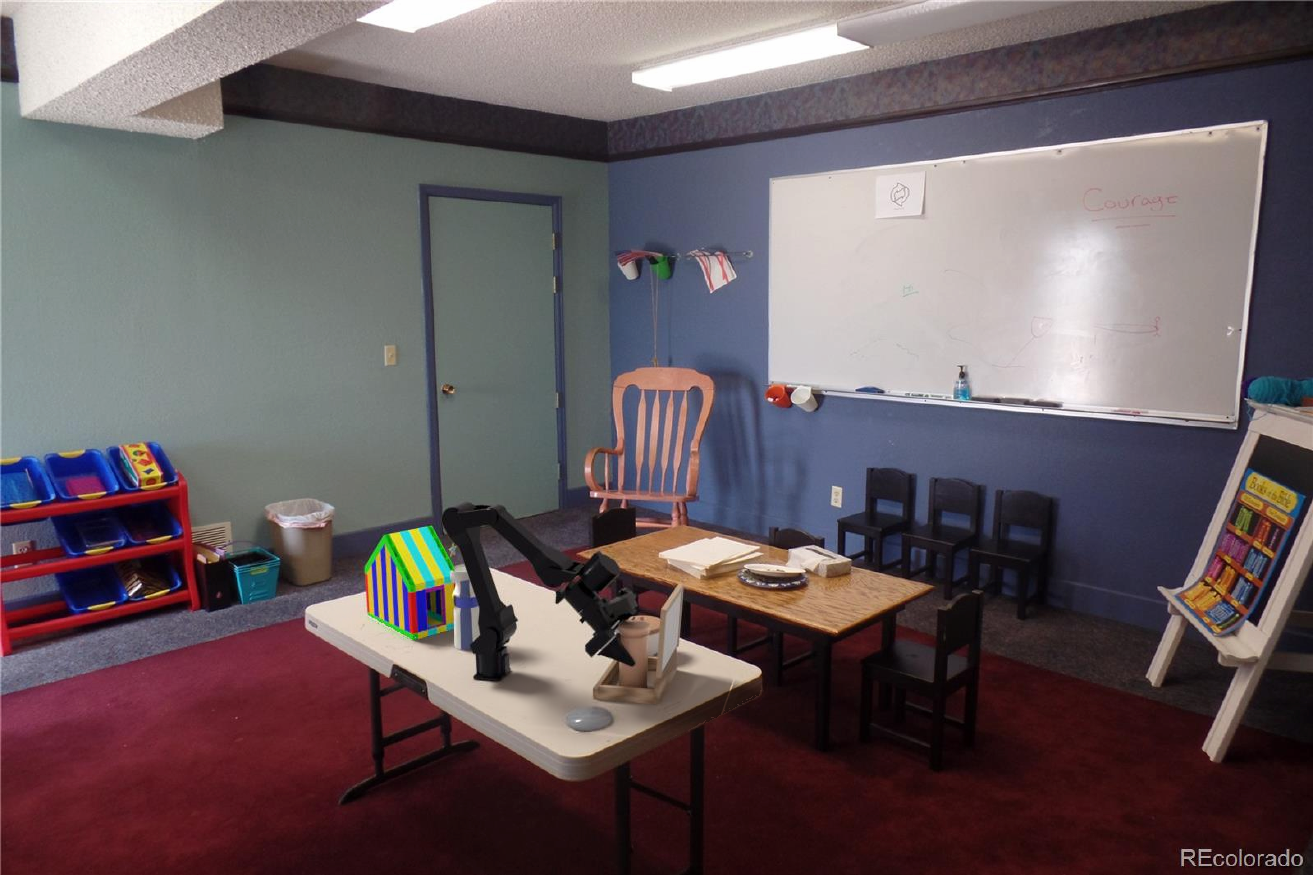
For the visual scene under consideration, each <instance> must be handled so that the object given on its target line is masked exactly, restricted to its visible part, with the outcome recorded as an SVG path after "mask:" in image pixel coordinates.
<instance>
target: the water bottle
mask: <svg viewBox="0 0 1313 875" xmlns="http://www.w3.org/2000/svg"><path fill="white" fill-rule="evenodd" d="M454 544H455V543H452V545H451V547H450V548H449V549H448V551H449V552H450V556H449V558H452V556H453V555H454V556H456V549H457V548H458V546H457V545H454ZM454 569H455V571H450V579H451V581H452V583H456V586H455V590H454V592H453V595H452V605H453V606H454V607H455V608H454V629H453V630H454V632H453V634H454V636H453V637H454V638H453V642H454V643H453V645H454V648H455V649H457V650H461V651H472V650H471V647H470V644H471V643H472V642H473V641H474V640H475V639H476V638H477V637H478V636H479V635H480V632H479V626H478V617H479V606H478V603H477V600H476V597H475V594H474V591H473V588H472V585H471V582H470V579H469V577H468V574H467V571H466V568H465V565H464V563H462V564H458V565H455V566H454Z"/></svg>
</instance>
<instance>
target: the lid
mask: <svg viewBox="0 0 1313 875" xmlns="http://www.w3.org/2000/svg"><path fill="white" fill-rule="evenodd" d="M684 585H685V584H684V583H681V582H679V583H678V584H677V586H675V588H674V590H673V591H672V593H671V594H670V596H669V597H668V599H667V600H666V602H665V603H664V605H663V606H662V607H661V609H660V629H659V642H658V652H657V656H656V657H657V669H656V678H661V677H662V671H663V669H664V668H665V666H666V664H667V662H668V660H669V659H670V657H671V655H672V653H673V652H674V650H675V648H676V647H677V648H678V647H679V646H680V637H681V624H682V622H681V621H682V611H683V600H684V599H683V598H684V597H683V596H684V588H685V586H684Z"/></svg>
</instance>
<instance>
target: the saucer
mask: <svg viewBox="0 0 1313 875" xmlns="http://www.w3.org/2000/svg"><path fill="white" fill-rule="evenodd" d="M611 722H612V712H610V711H609V709H607V708H604V707H599V706H596V705H595V706H593V705H592V706H591V705H588V706H581V707H577V708H574V709H572V710H570V711H568V712H567V713H566V715H565V724H566V725H567V727H568V728H570V729H572V730H574V731H576V732H580V733H581V732H582V733H590V732H592V731H596V730H600V729H603V728H605V727H607V726H609V725H610V724H611Z"/></svg>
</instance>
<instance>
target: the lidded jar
mask: <svg viewBox="0 0 1313 875" xmlns="http://www.w3.org/2000/svg"><path fill="white" fill-rule="evenodd" d="M633 617H634V615H633V616H631V617H630V618H629V619H630V620H631V619H632V618H633ZM635 620H641V621H645V622H647V623H649V624H650V633H649V634H648V656H653V657H655V656H656V654H658V642H659V629H660V618H659V617H656V616H652V615H635Z"/></svg>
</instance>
